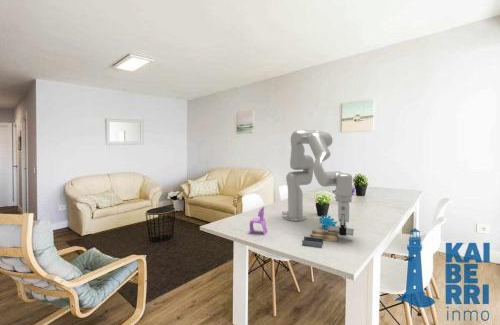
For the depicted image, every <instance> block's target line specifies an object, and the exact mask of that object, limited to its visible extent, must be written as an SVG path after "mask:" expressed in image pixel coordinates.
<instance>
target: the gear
mask: <svg viewBox="0 0 500 325" xmlns="http://www.w3.org/2000/svg"><path fill="white" fill-rule="evenodd" d="M319 220H320V221H319V224H321V227H322V228H324V229H325V230H326V231H328V225H331V226H337V225H336V224H338V221H336V220H335V219H334V218H333V217H332V218H331V215H327V214H324V215H321V216H320V217H319ZM334 220H335V221H334Z"/></svg>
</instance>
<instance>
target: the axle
mask: <svg viewBox="0 0 500 325" xmlns="http://www.w3.org/2000/svg"><path fill="white" fill-rule="evenodd" d="M339 227H340V226H337V225H336V226H331V225H328V229H327V232H334V233H338V234H339ZM354 230H355V229H354V228H348V227H346V236H354Z"/></svg>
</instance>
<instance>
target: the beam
mask: <svg viewBox="0 0 500 325" xmlns="http://www.w3.org/2000/svg"><path fill="white" fill-rule="evenodd" d="M309 237H315V238H323V242H324V241H325V242H334V243H338V240H339V233H334V232H329V231H328V230H326V231H324V230H316V229H312V230H311V234H310V236H309Z"/></svg>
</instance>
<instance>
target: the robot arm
mask: <svg viewBox="0 0 500 325" xmlns="http://www.w3.org/2000/svg"><path fill="white" fill-rule="evenodd" d="M333 142H334V141H333V137H332V135H331V134H330V133H328V132H326V131H322V130H315V129H298V130H295V131H293V132H292V133H291V136H290V147H291V148H290V158H289V159H290V160H289V166H290V169H291V170H295V171H290V172H288V173H287V174H286V177H285V181H286V185H287V209H288V210H287V211H284V210H283V211H281V215H282V216H285V219H286V220H288V221H292V222H301V221H305V220H306V217H305V216H304V213H303V208H304V205H303V200H304V199H303V196H304V195H303V190H302V188H301V187H300V186H308V185H310V184H311V183H312V181H313V176H314V177H315V180H316V181H317V182H318V184H319V185H320V186H321V187H324V188H326V187H335V202H337V217H338V218H337V220H338V222H339V226H338V227H339V233H338V236H342V237H346V236H347V235H346V228H347V224H348V223H350V208H351V207H350V203H352V200H353V197H352V196H353V175H352V174H350V173H346V172H345V173H344V172H341V171H325V169H324V167H323V162H325V161H326V160H329V158H330V157H331V151H330V149H329V148H328V147H330V146H332V144H333ZM304 144H306V145H308V146H309V147H310V149H311V152H312V154H313V156H314V157H312V156H311V155H310V154H305V152H306V151H305V150H306V149H305V146H304ZM314 158H315V160H314ZM313 174H314V175H313Z"/></svg>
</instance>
